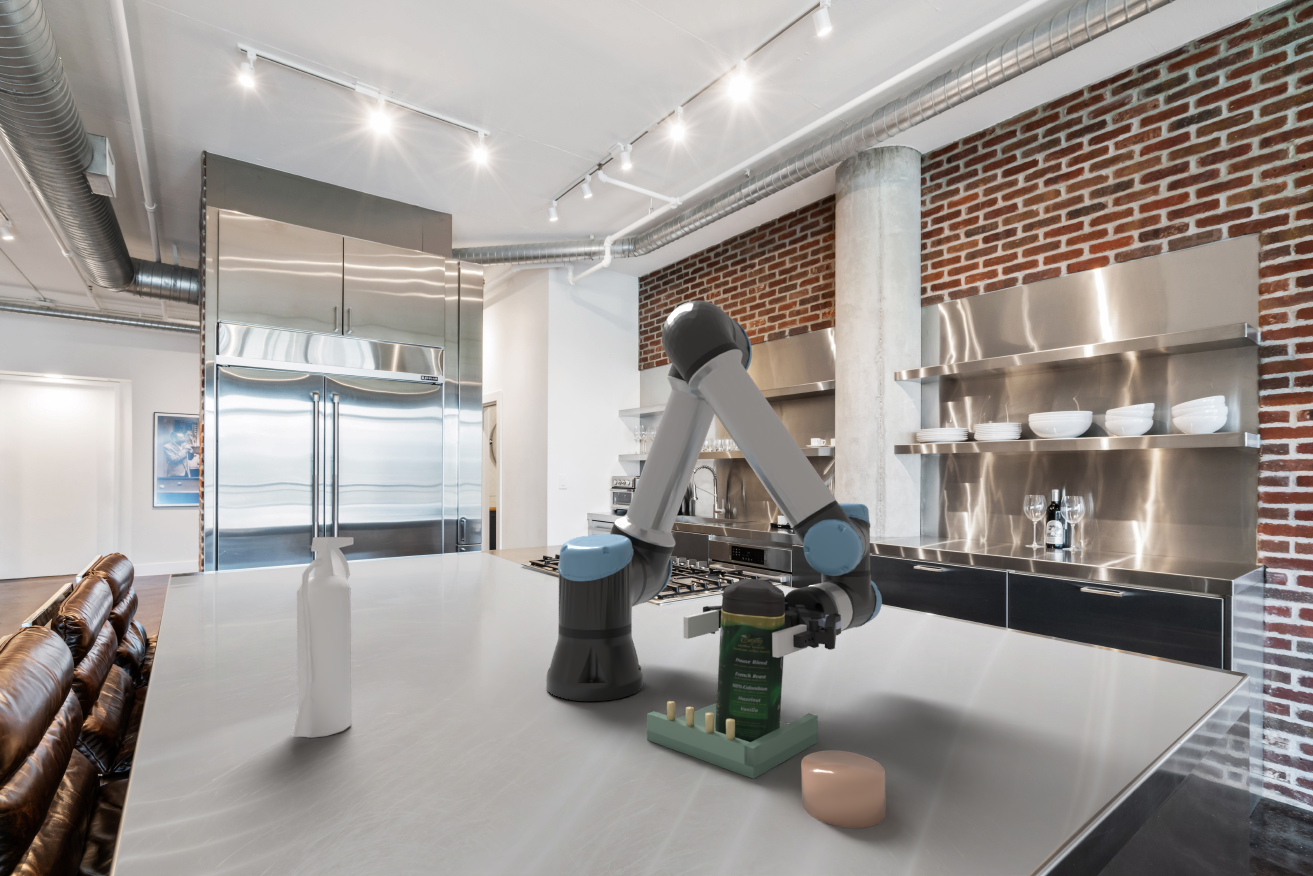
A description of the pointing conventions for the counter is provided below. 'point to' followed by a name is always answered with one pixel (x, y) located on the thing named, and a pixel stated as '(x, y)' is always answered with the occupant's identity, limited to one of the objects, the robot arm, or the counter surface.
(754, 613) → the coffee jar
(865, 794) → the peach soap bar
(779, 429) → the robot arm
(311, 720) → the white spray bottle
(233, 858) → the counter surface
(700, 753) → the header tray
